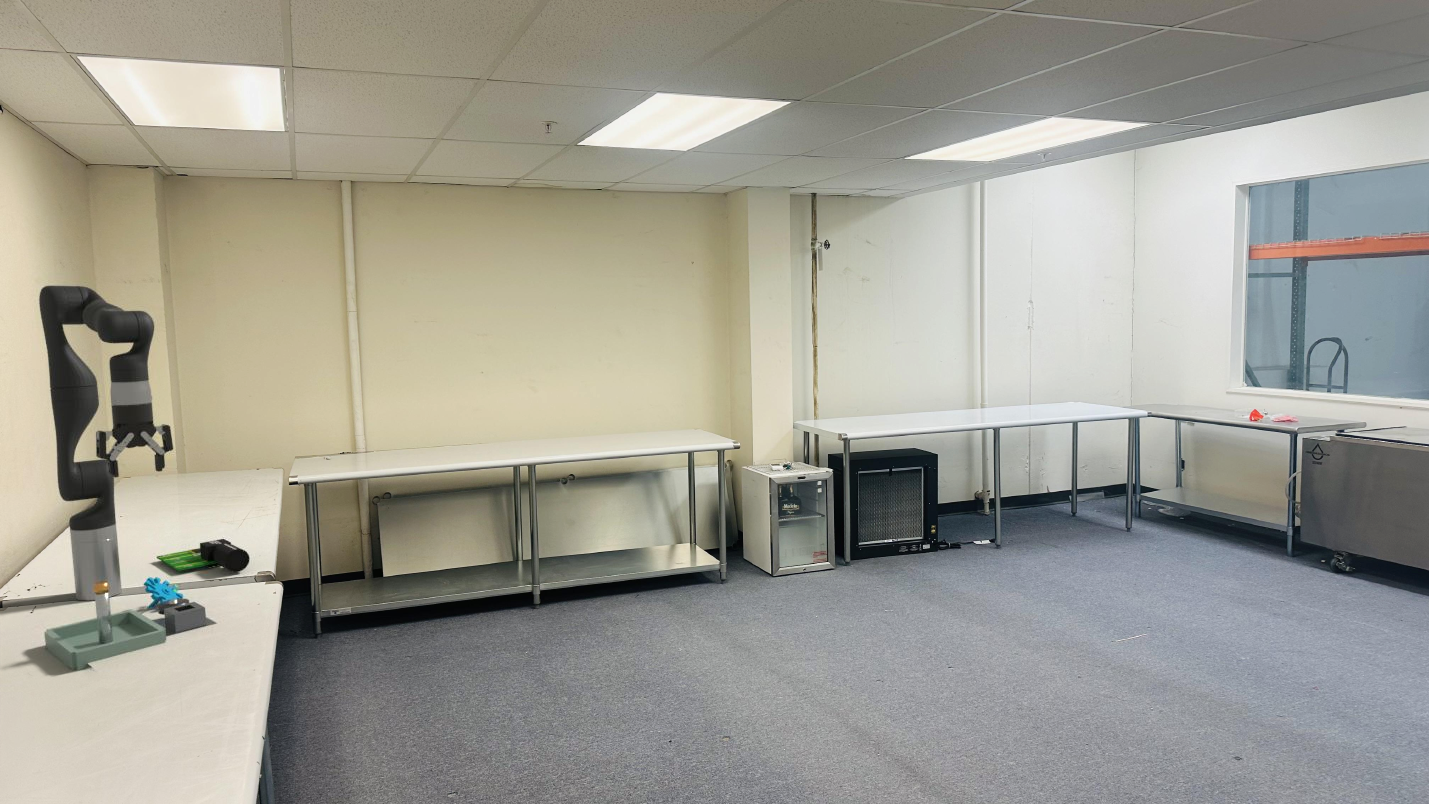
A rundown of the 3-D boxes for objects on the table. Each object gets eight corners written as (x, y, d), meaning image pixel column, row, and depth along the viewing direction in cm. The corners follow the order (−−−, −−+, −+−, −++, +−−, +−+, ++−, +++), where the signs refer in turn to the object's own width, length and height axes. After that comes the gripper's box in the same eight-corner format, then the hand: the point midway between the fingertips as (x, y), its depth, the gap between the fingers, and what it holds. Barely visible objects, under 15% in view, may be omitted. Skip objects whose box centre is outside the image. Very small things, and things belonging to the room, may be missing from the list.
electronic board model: (154, 538, 245) (214, 527, 256) (156, 562, 245) (216, 551, 256) (190, 557, 224) (253, 545, 235) (192, 584, 225) (255, 570, 236)
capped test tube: (97, 642, 183) (91, 583, 182) (111, 638, 185) (106, 580, 183) (101, 645, 181) (95, 585, 180) (115, 641, 183) (110, 582, 182)
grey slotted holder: (144, 627, 194) (142, 602, 194) (194, 614, 202) (192, 591, 201) (166, 640, 186) (164, 615, 185) (217, 627, 193) (215, 603, 193)
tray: (44, 646, 183) (42, 630, 183) (134, 624, 196) (133, 609, 196) (74, 671, 170) (72, 654, 170) (168, 646, 183) (167, 629, 182)
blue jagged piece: (172, 608, 201) (139, 578, 201) (153, 627, 201) (120, 598, 200) (196, 599, 212) (165, 571, 212) (178, 617, 212) (147, 589, 211)
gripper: (161, 397, 203) (166, 467, 205) (88, 403, 192) (94, 476, 194) (173, 399, 198) (179, 471, 200) (99, 405, 187) (105, 481, 189)
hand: (137, 473), depth 197 cm, fingers open, 8 cm apart
